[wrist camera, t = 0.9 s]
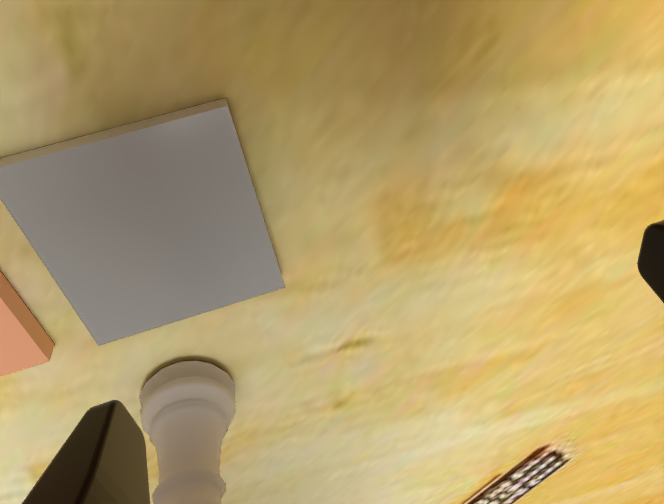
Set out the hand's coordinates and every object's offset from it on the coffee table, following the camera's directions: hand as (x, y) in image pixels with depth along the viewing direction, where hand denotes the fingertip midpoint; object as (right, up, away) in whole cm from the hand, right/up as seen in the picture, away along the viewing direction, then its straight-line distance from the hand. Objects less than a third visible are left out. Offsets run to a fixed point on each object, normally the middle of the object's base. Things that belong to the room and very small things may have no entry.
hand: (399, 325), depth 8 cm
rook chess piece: (-8, -5, +16) cm, 19 cm away
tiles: (-13, +1, +10) cm, 16 cm away
